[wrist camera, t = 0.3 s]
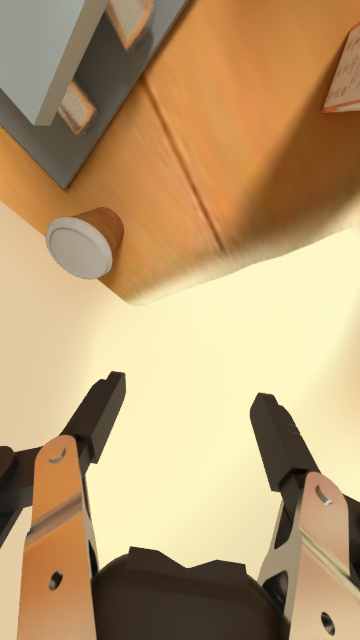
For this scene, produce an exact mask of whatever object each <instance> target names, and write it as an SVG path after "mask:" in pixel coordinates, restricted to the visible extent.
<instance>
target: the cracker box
mask: <svg viewBox="0 0 360 640" xmlns="http://www.w3.org/2000/svg"><path fill="white" fill-rule="evenodd" d="M346 111H360V22H358V23H357V24H356V25H355V26H353V27H352V29H351V31H350V34H349V36H348V39H347V42H346V45H345V48H344V50H343V53H342V56H341V59H340V61H339V64H338V67H337V70H336V73H335V75H334V78H333V81H332V84H331V87H330V90H329V92H328V95H327V98H326V101H325V104H324V106H323V109H322V113H328V112H346Z"/></svg>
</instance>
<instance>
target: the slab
mask: <svg viewBox="0 0 360 640" xmlns="http://www.w3.org/2000/svg"><path fill="white" fill-rule="evenodd" d="M108 1H109V0H0V88H1V89H2V90H3V91H4V92H5V94H6V95H7V96H8V97H9V98H10V99H11V100H12V102H13V103H14V104H15V105H16V106H17V107H18V108H19V109H20V111H21V112H22V113H23V114H24V115H25V116H26V117H27V119H28V120H29V121H30V122H31V123H32V124H33V125H38V126H50V125H51V123H52V121H53V119H54V117H55V115H56V113H57V110H58V108H59V106H60V104H61V102H62V100H63V98H64V95H65V93H66V91H67V89H68V87H69V85H70V83H71V81H72V78H73V76H74V74H75V72H76V70H77V68H78V66H79V63H80V61H81V59H82V57H83V55H84V53H85V51H86V48H87V46H88V44H89V42H90V40H91V38H92V36H93V34H94V31H95V29H96V27H97V25H98V23H99V21H100V19H101V16H102V14H103V12H104V10H105V8H106V6H107V4H108Z"/></svg>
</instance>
